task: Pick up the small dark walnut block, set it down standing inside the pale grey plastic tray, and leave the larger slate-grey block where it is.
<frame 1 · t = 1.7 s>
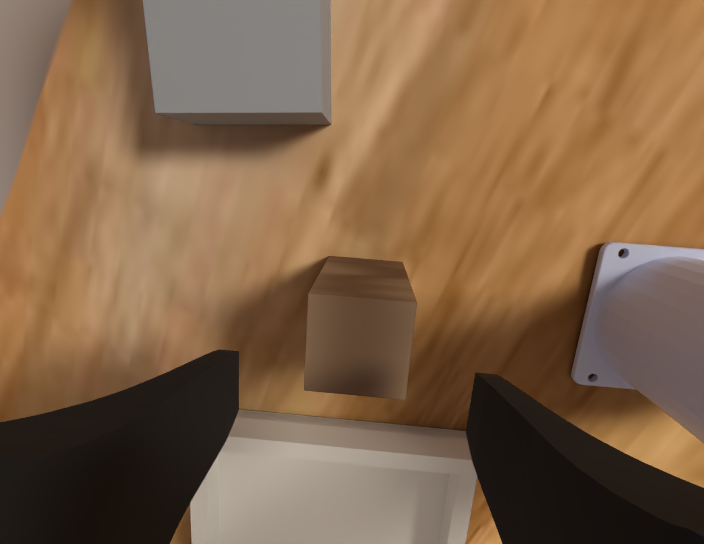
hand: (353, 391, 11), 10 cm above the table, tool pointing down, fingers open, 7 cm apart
slate block: (260, 49, 19), on the table
walnut block: (362, 293, 21), on the table
tray: (329, 512, 25), on the table
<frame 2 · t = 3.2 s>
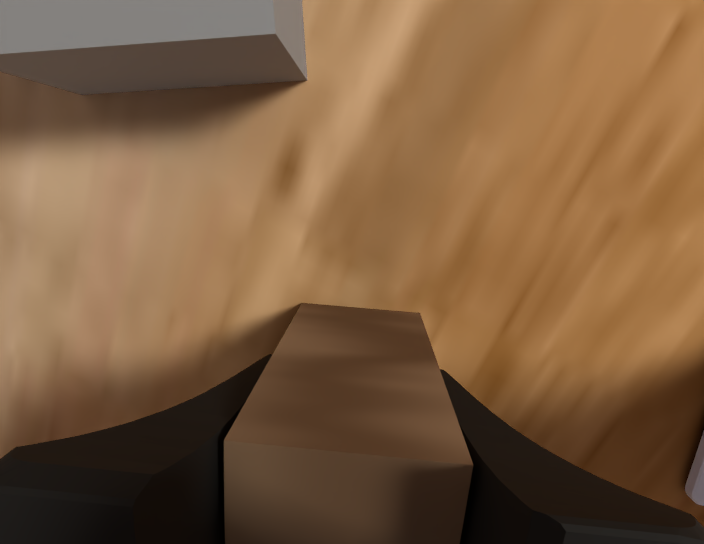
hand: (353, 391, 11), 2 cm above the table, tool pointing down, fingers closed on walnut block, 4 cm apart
walnut block: (356, 362, 13), on the table, touching gripper
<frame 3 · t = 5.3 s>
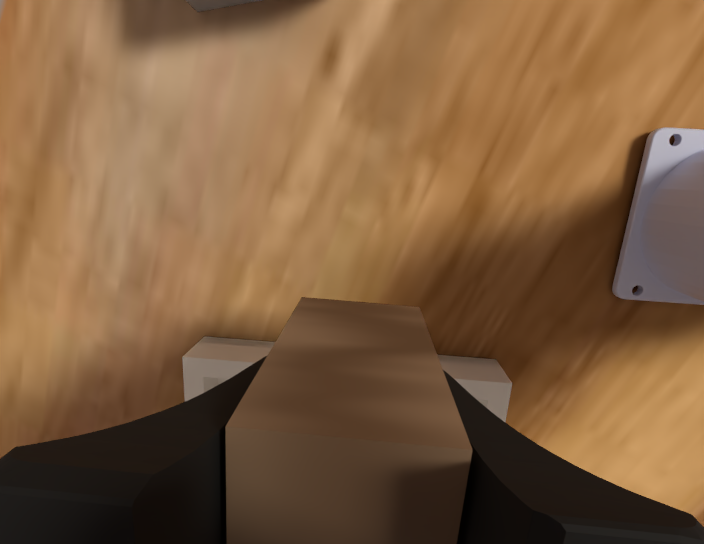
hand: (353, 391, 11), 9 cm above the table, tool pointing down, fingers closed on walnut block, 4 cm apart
walnut block: (356, 356, 13), point 7 cm above the table, touching gripper
tray: (341, 456, 23), on the table
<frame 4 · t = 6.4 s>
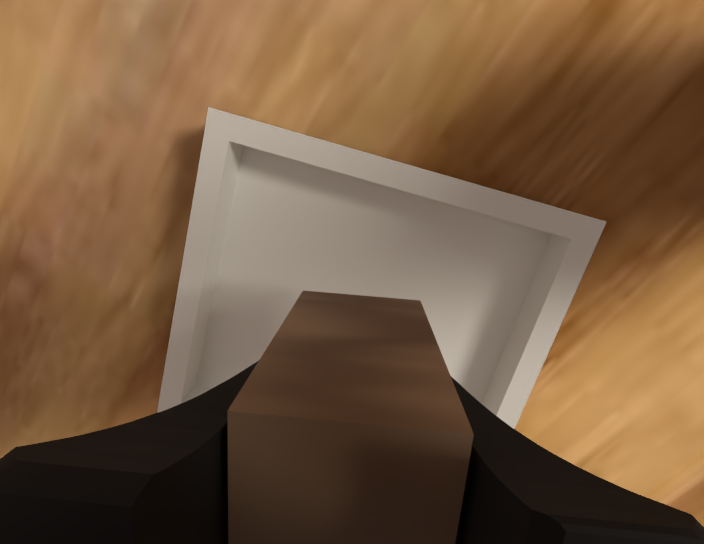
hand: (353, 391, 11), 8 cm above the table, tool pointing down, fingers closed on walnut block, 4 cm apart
walnut block: (356, 349, 13), point 5 cm above the table, touching gripper
tray: (361, 308, 19), on the table
when the fingers open (4 cm above the table, at t = 7.4 s): walnut block stays where it is, resting on tray.
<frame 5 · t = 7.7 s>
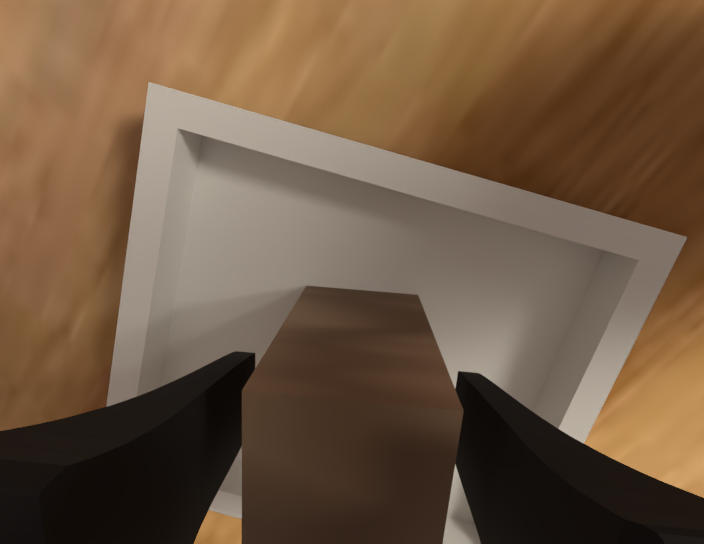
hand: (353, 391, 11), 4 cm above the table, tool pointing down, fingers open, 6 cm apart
walnut block: (357, 341, 14), point 1 cm above the table, touching tray
tray: (357, 342, 15), on the table
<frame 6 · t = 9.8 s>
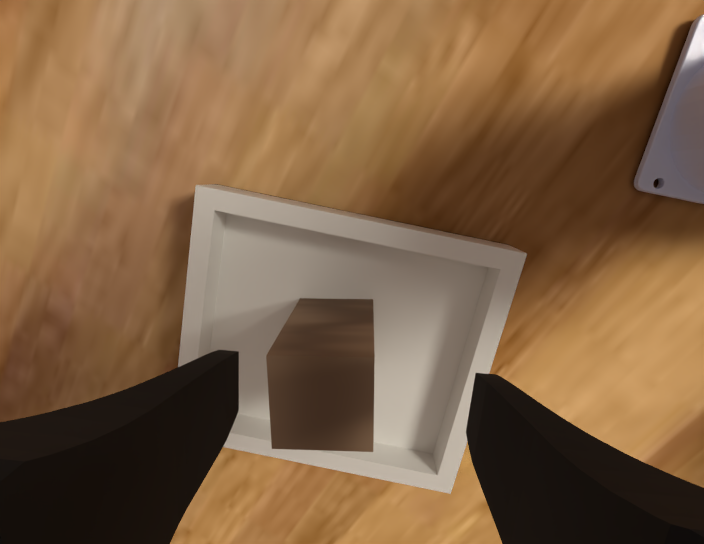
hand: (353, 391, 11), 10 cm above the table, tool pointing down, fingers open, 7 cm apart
walnut block: (336, 333, 21), point 1 cm above the table, touching tray
tray: (338, 333, 22), on the table
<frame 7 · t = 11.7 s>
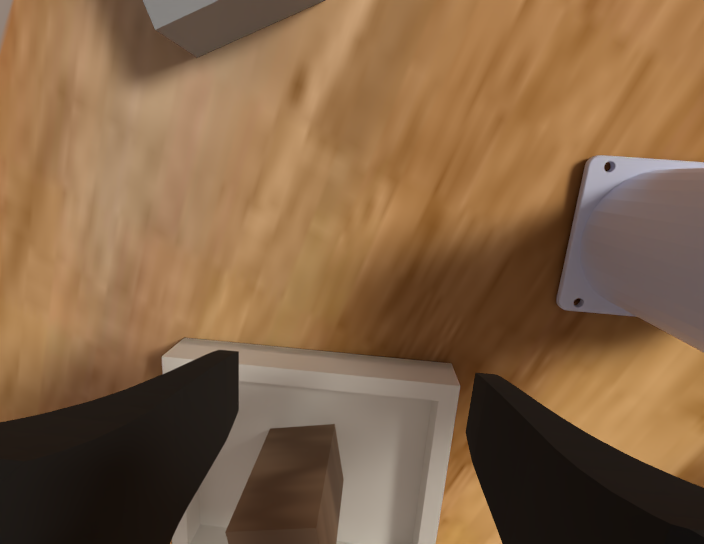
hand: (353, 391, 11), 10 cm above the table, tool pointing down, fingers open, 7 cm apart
walnut block: (307, 454, 24), point 1 cm above the table, touching tray
tray: (310, 450, 24), on the table
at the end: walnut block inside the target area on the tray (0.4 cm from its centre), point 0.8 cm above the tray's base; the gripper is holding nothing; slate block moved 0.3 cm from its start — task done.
